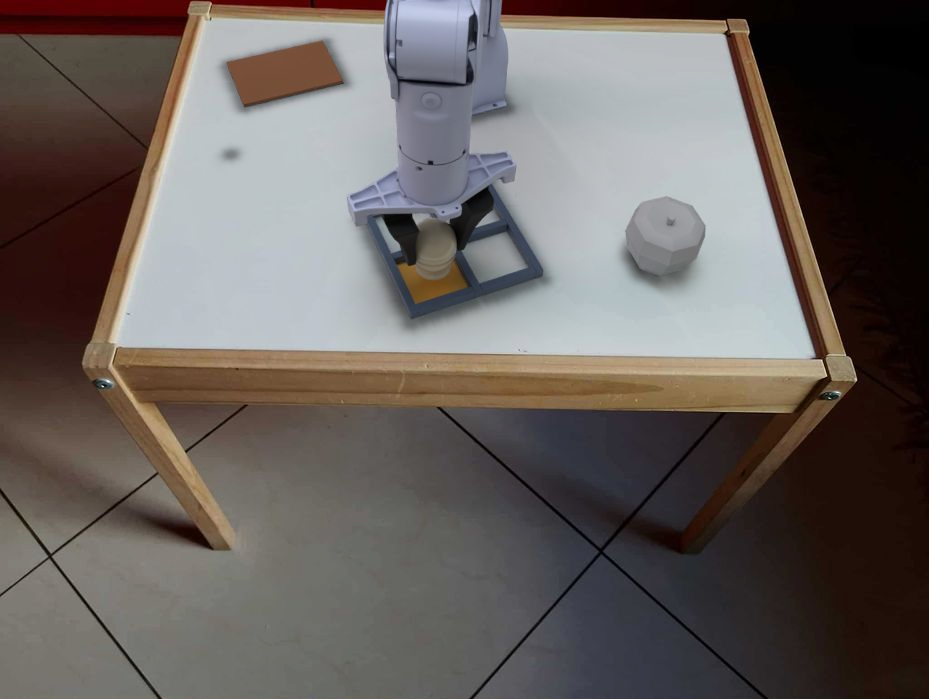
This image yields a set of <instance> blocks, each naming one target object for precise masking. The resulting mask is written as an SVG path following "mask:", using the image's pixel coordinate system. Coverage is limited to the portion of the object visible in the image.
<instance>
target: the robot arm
mask: <svg viewBox="0 0 929 699" xmlns="http://www.w3.org/2000/svg"><path fill="white" fill-rule="evenodd" d="M502 3H503V0H386V6H385V9H384V18H383V55H384V56H383V57H384V63H385V69H386V74H387V78H388V82H389V87H390V88H389V89H390V98H391V100H394V104H395V122H396V123H395V124H396V127H395V128H396V146H397V147H396V149H397V167H396V168H394V169H393V170H390V171H389V172H388V173H386V174H385V175H383V176H381V177H380V178H378V179H376V180H375V181H373V182H372V183H370V184H368V185H367V186H364V187H363V188H361V189H359V190H357V191H353V192H351V193H348V194H346V202H347V209H348V213H349V216H350V217H351V220H352V222H353V224H354V226H355V228H358V227H362V226H365V225H366V224H367V223H368V221H367V218H368V217H371V216H375V215H378V214H381V216H380V217H381V219H382V220H383V223H384V225H385V227H386V229H387V231H388V232H389V234H390V236H391V238H393V240H395V241H396V242H397V244H398V245H399V248H400V250H401V252H402V254H403V256H404V259H405V261H406V263H407V265H408V266H412V265H415V264H416V240H417V236H418V234H419V232H420V231H419V229H418V227H417V225H416V224H417V223H416V221H415V219H414V218H413V214H429V213H434V214H436V216H437V218H438V219H439V220H442V221H448V224H450V226H451V227H452V228H453V229H454V232H455V234H456V238H457V250H458V251H460V250H461V251H463V250H465V248H466V246H467V245H468V243H467V242H468V240H469V238H470V236H471V234H472V232H473V231H474V229H475V228H476V227H478V225H479V224H480V222H481V221H483V219H484V218H485V217H487V215H488V214H490V213H491V212H493V210H494V208H493V206H494V198H493V196H492V194H491V193H490V191H489V185H490V184H491V183H492V184H493V183H495V182H496V181H499V180H501V182H502V183H503V184H509V183H512V182H515V179H516V171H517V163H516V162H515V160H514V159H513V157H512V155H511V154H510V152H509V151H508V150H501V151H495V152H482V153H481V152H478V153H477V152H476V153H474V152H473V153H472V152H471V153H470V149H471V148H470V145H471V132H472V117H474V116H477V115H482V114H484V113H490V112H493V111H497V110H500V109H504V108H506V107H507V101H506V100H505V97H506V96H505V95H506V87H507V86H506V85H507V75H508V68H509V67H508V66H509V45H508V39H507V36H506V33H505V30H504V28H503V27H502V24H501V18H502V16H501V15H502V5H503V4H502Z"/></svg>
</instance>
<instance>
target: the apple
mask: <svg viewBox="0 0 929 699" xmlns="http://www.w3.org/2000/svg"><path fill="white" fill-rule="evenodd" d="M706 227H707V225H706V223H705V222H704V221H703V220H702V218H701V216H700V215H699V213H698V212H697V210H696V209H695V207H694V206H693V205H691V204H690V203H687V202H684V201H681V200H678V199H675V198H673V197H671V196H667V195H665V196H662V197H657V198H653V199H649V200H645V201H642V202H641V203H639V205H638V206H637V207H636V208H635V209H634V211H633V213H632V215H631V216H630V220H629V221H628V224H627V226H626V228H625V230H624V234H625V241H626V246H627V248H628V250H629V251H630V254H631V256H632V258H633V259H634V262H635V263H636V265H637V266H638V268H639V269H640V271H641V270H642V271H644V272H646V273H649V274H651V275H654V276H656V277H662V276H664V275H669V274H671V273H675V272H678V271H681V270H684V269H686V268H687V267H688V266H689V265H691V264H692V263H693V262H694V261H696V259H698V255H699V253H700V250H701V248H702V245H703V244H704V241H705V239H706Z"/></svg>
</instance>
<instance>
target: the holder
mask: <svg viewBox="0 0 929 699" xmlns="http://www.w3.org/2000/svg"><path fill="white" fill-rule="evenodd" d="M489 191H490V193H491V194H492V196H493V198H494V206H493V210H494V211H495V213H496V215H497V217H498V219H499V220H496V221H493V222H489V223H486V224H483V225H480V226H476V228H475V229H474V231H473V232H472V234H471V236H470V238H469V240H468V242H467V244H468V243H471V242H475V241H478V240H482V239H485V238H489V237H491V236H494V235H498V234H501V233H504V232H507V233H508V235H509V237H510V238H511V240H512V242H513V244H514V245H515V247H516V249H517V250H518V252H519V253H520V256H521V257H522V259H523V260H524V262H525V264H526V266H527V268H522V269H519V270H517V271H513V272H510V273H508V274H505V275H501V276H498V277H495V278H492V279H489V280H486V281H482V282H479V280H478V279H477V277H476V275H475V273H474V271H473V269H472V268H471V266H470V263H469V262H468V260H467V258H466V256H465V255H464V253H463V250H460V251H458V250H457V251H456V256H455V258H454V260H453V262H452V267H451V270H450V272H449V273H448V275H447V276H445V277H444V278H442V279H438V280H428V279H425V278H422V277H421V276H419V275H418V274H417V272H416V271H415V268H414V265H412V266H408V265H407V263H406V261H405V259H404V256H403V254H402V252H401V249H399V250H397V251H394V252H391V250H390V248H389V246H388V243H387V241H386V239H385V238H384V235H383V233H382V232H381V229H380V226H379V225H378V223H377V221H376V219H375V218H378V217H381V214H378V215H375V216H371V217H368V218H367V221H368V223H367V224H365V225H366V227H367V229H368V232H369V234H370V235H371V237H372V240H373V242H374V244H375V246H376V249H377V251H378V253H379V255H380V256H381V259H382V261H383V263H384V265H385V267H386V269H387V270H386V271H388V274H389V276H390V278H391V280H392V282H393V285H394V287H395V289H396V291H397V293H398V295H399V297H400V299H401V302H402V303H403V306H404V308H405V310H406V312H407V314H408V316H409V318H410V320H412V319H415V318H419V317H422V316H425V315H428V314H430V313H434V312H437V311H440V310H443V309H446V308H449V307H452V306H456V305H458V304H462V303H464V302H468V301H470V300H473V299H476V298H479V297H482V296H486V295H488V294H491V293H494V292H498V291H501V290H504V289H506V288H511V287H513V286H517V285H520V284H522V283H525V282H529V281H531V280H534V279H537V278H541V277H542V276H543V273H544V268H543V266H542V265H541V263H540V261H539V260H538V258H537V256H536V254H535V253H534V251H533V249H532V248H531V246H530V244H529V242H528V241H527V240H526V238H525V237H524V234H523V233H522V232H521V229H520V228H519V226H518V225H517V223H516V221H515V220H514V218H513V216H512V215H511V213H510V211H509V210H508V208H507V207H506V205H505V203H504V202H503V200H502V198H501V197H500V195H499V193H498V191H497V190H496V188H495V187H494V185H493V183H491V184H490V185H489ZM428 214H429V216H430V218H437V216H436V214H434V213H428Z"/></svg>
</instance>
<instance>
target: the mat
mask: <svg viewBox="0 0 929 699" xmlns="http://www.w3.org/2000/svg"><path fill="white" fill-rule="evenodd" d="M226 66H227V69H228V70H229V74H230V75H231V78H232V80H233V83H234V85H235V88H236V90H237V93H238V95H239V98H240V101H241V103H242V105H243V107H250V106H255V105H259V104H262V103H267V102H270V101H271V102H272V101H275V100H280V99H283V98H288V97H293V96H296V95H300V94H304V93H308V92H312V91H316V90H320V89H325V88H328V87H333V86H336V85H337V86H338V85H341V84H344V79H343V77H342V75H341V73H340V71H339V70H338V67H337V66H336V64H335V61H334V60H333V58H332V56H331V53H330V52H329V50H328V47H327V45H326V44H325V42H324V40H318V41H314V42H309V43H304V44H301V45H296V46H292V47H287V48H283V49H279V50H274V51H270V52H265V53H261V54H255V55H251V56H247V57H242V58H238V59H234V60H229V61H226Z"/></svg>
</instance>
